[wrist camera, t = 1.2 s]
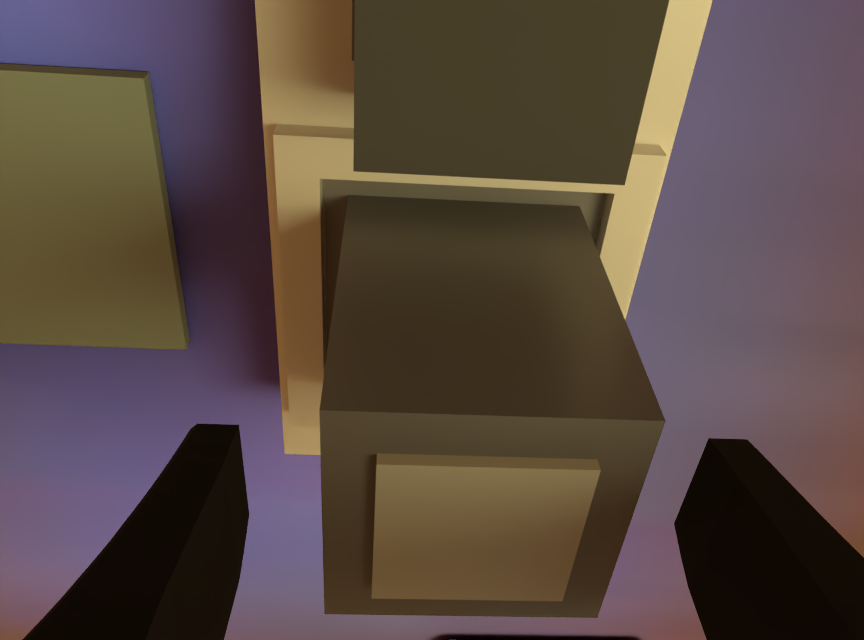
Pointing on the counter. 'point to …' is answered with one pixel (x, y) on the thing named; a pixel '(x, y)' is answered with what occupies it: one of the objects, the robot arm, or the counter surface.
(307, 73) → the power strip
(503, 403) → the block
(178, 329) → the mat
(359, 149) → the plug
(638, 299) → the counter surface
